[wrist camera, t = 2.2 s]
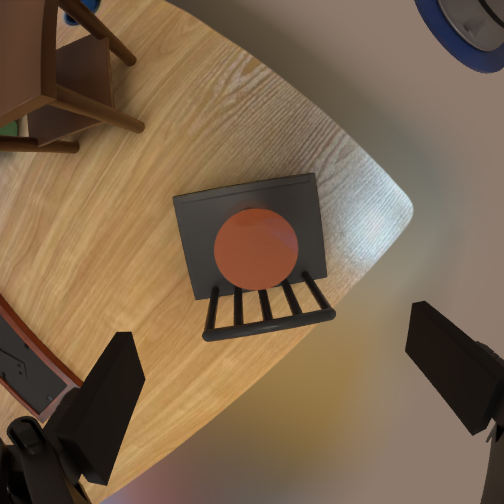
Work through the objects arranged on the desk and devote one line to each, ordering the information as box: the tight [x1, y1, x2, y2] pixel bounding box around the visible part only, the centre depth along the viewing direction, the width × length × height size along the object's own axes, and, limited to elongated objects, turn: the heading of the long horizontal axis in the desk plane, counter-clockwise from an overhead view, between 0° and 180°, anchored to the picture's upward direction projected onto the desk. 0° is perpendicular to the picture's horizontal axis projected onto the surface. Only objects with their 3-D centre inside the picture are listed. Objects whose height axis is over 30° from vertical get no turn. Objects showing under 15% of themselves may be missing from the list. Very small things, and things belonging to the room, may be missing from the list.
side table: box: [0, 0, 145, 154], centre depth 23 cm, size 12×12×24 cm
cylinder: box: [214, 199, 298, 290], centre depth 34 cm, size 8×8×10 cm
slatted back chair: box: [173, 173, 336, 342], centre depth 34 cm, size 18×14×14 cm
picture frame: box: [0, 294, 83, 423], centre depth 43 cm, size 20×2×25 cm
